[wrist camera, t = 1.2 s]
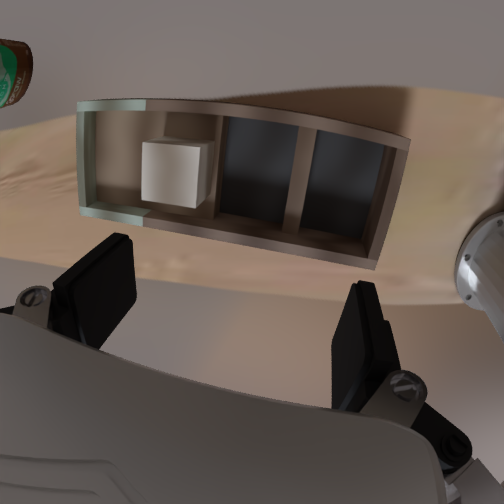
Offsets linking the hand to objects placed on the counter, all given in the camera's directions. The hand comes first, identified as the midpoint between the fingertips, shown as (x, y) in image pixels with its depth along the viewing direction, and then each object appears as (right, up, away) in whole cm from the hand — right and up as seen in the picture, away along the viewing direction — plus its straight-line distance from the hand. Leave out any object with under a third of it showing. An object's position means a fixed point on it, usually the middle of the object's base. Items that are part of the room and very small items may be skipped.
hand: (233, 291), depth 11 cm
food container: (-30, +24, +16) cm, 42 cm away
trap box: (-1, +10, +18) cm, 20 cm away
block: (-5, +9, +16) cm, 19 cm away
